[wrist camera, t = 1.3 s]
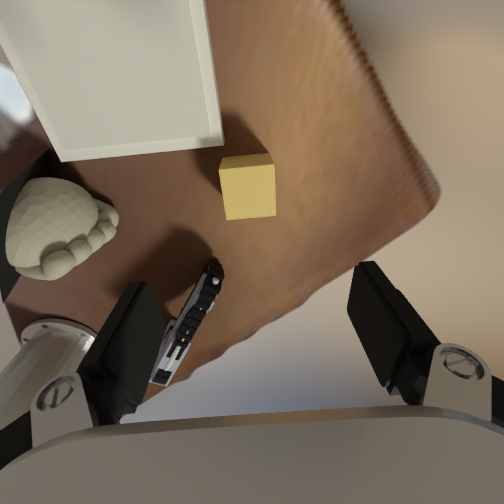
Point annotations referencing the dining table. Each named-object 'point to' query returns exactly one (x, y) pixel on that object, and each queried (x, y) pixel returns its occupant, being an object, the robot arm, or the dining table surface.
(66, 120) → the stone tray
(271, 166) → the mustard cube
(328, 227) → the dining table surface
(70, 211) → the decorative object
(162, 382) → the toy gun
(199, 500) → the robot arm
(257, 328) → the dining table surface
